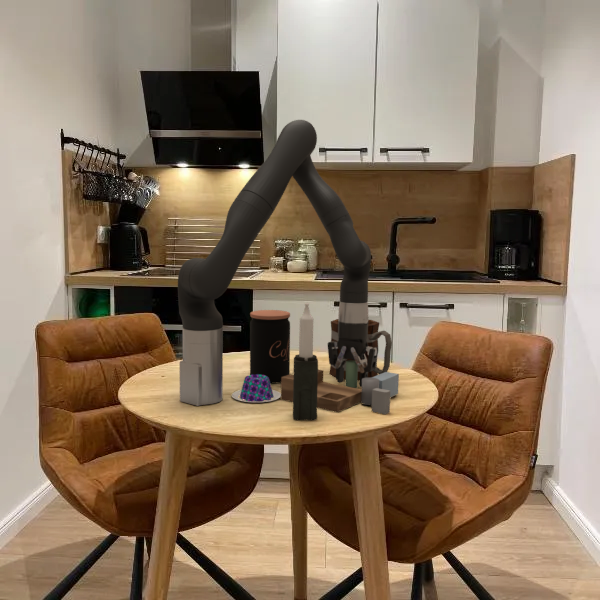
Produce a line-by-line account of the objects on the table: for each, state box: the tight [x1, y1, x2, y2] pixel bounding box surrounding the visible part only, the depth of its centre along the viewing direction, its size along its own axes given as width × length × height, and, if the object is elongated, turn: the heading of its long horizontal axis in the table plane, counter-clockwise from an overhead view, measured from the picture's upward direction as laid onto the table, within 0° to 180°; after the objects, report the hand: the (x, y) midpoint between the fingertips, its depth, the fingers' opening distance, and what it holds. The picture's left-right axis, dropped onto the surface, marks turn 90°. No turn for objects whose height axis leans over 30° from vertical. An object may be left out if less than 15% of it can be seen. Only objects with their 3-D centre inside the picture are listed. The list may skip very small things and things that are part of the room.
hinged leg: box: [360, 371, 400, 406], centre depth 142 cm, size 13×4×6 cm, turn 144°
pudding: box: [231, 374, 281, 403], centre depth 143 cm, size 12×12×5 cm
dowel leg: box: [344, 360, 358, 389], centre depth 152 cm, size 3×3×7 cm
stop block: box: [371, 388, 391, 415], centre depth 133 cm, size 2×4×5 cm, turn 54°
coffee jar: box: [249, 309, 291, 384], centre depth 159 cm, size 11×11×18 cm
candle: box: [292, 302, 319, 421], centre depth 128 cm, size 5×5×25 cm
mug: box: [329, 318, 393, 382], centre depth 163 cm, size 20×14×15 cm
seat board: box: [280, 369, 362, 413], centre depth 141 cm, size 12×16×5 cm
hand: (351, 384), depth 152 cm, fingers open, 6 cm apart
